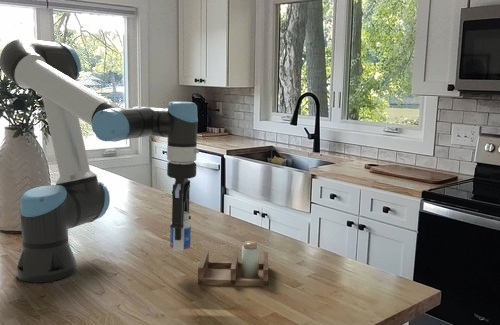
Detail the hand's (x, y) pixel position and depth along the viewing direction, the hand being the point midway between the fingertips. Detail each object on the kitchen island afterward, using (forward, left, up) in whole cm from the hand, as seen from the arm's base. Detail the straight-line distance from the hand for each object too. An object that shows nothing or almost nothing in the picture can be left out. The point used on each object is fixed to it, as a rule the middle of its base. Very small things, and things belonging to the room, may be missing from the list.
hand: (180, 246), depth 130 cm
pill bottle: (0, 0, -1) cm, 1 cm away
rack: (+15, 0, -9) cm, 17 cm away
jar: (+19, 0, -8) cm, 20 cm away
